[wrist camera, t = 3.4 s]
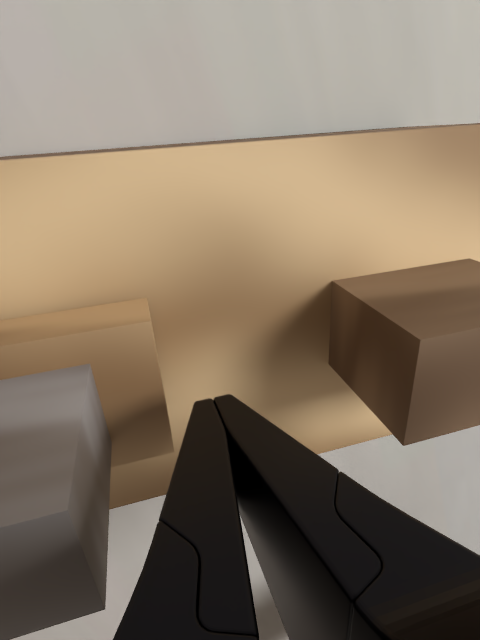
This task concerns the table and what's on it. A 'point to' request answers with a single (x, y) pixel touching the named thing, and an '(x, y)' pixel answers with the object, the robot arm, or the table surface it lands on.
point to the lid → (270, 276)
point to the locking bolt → (70, 452)
